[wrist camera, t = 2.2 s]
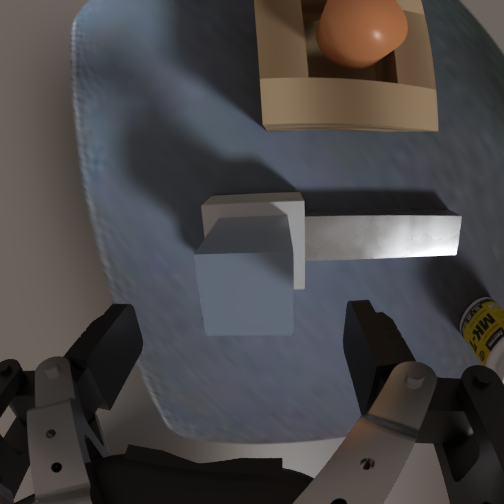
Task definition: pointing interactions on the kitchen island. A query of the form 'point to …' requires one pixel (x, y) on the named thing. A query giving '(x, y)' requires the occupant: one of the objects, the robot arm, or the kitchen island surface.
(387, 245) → the rail
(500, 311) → the supplement bottle
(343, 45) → the brown egg
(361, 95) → the open wooden box
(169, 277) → the kitchen island surface
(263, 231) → the carriage
